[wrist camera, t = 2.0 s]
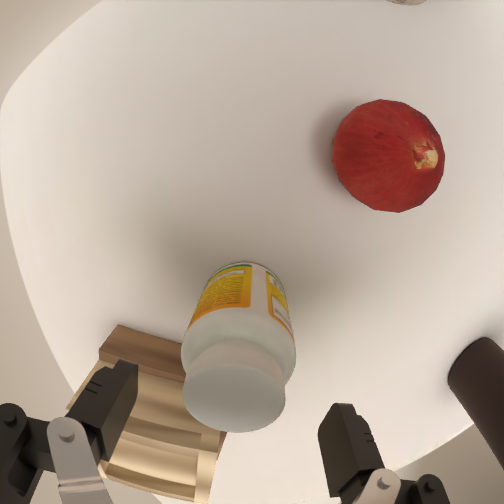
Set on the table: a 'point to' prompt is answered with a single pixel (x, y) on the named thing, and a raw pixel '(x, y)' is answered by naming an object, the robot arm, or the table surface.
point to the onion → (388, 155)
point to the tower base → (147, 356)
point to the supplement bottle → (238, 350)
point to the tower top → (161, 443)
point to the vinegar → (482, 390)
